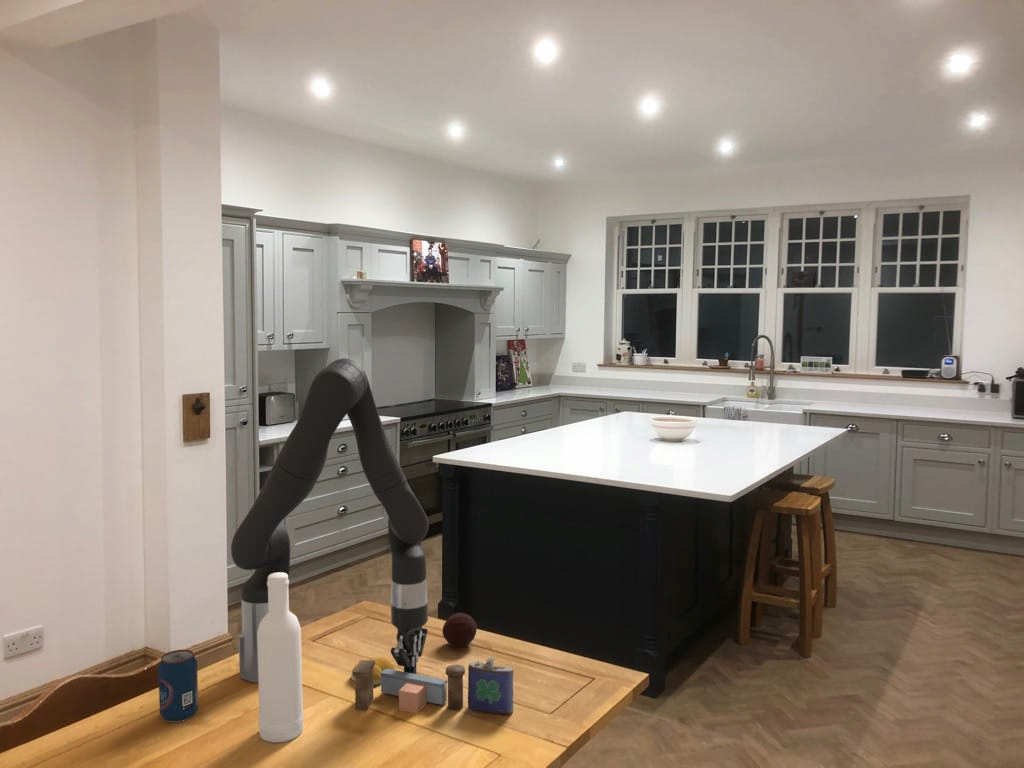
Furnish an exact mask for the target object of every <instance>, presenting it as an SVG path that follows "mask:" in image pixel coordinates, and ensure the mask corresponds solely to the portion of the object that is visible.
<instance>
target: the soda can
mask: <svg viewBox="0 0 1024 768" xmlns="http://www.w3.org/2000/svg"><path fill="white" fill-rule="evenodd" d="M157 672H158V694H159V695H158V698H159V699H158V701H159V714H160V716H161V717H162V719H163V720H164V721H165V720H166V722H167V721H168V722H167V723H172V722H175V723H180V722H179V721H182V722H184V721H183V720H185V721H187V720H186V719H188V720H189V718H190V719H192V718H193V717H194V716H195V713H197V710H198V708H199V688H198V687H199V685H198V681H199V679H198V661H197V658H196V657H195V655H194V652H193V651H192V650H189V649H176V650H172V651H169V652H166V653H164V654H163V655H162V656H161V660H160V662H159V664H158V671H157ZM193 715H194V716H193ZM192 716H193V717H192Z"/></svg>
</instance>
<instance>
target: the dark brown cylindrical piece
mask: <svg viewBox="0 0 1024 768" xmlns="http://www.w3.org/2000/svg"><path fill="white" fill-rule="evenodd" d="M465 673H466V668H465V666H464V665H461V664H450V665H449V666H447V667H445V675H446V676H447V709H448V710H450V711H453V712H454V711H460V710H462V709H463V708H464V675H465Z"/></svg>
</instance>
